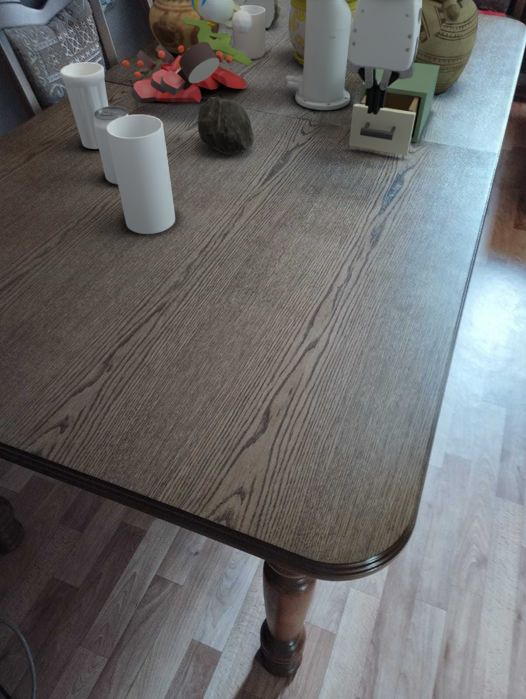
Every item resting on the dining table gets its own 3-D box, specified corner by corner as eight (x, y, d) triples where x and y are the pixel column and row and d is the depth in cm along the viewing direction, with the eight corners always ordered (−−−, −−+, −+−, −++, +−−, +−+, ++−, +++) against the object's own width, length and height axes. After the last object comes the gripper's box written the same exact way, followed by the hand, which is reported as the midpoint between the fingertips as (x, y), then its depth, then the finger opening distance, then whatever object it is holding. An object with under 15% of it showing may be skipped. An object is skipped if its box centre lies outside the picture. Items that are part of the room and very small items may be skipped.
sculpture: (254, 31, 180) (289, 17, 176) (246, 38, 165) (283, 23, 162) (243, -7, 174) (278, -22, 170) (232, -3, 159) (270, -20, 156)
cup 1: (70, 149, 110) (50, 74, 100) (92, 132, 116) (75, 59, 105) (105, 155, 108) (88, 79, 98) (126, 138, 114) (112, 64, 103)
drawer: (402, 165, 103) (410, 124, 98) (342, 155, 106) (347, 114, 101) (420, 125, 116) (428, 86, 110) (366, 117, 119) (371, 78, 113)
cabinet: (416, 142, 112) (427, 93, 105) (355, 132, 115) (361, 83, 108) (429, 112, 122) (439, 65, 115) (373, 104, 126) (379, 58, 119)
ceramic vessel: (376, 68, 142) (397, -78, 120) (460, 74, 139) (497, -75, 117) (371, 96, 129) (393, -61, 107) (464, 104, 126) (506, -57, 104)
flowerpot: (369, 63, 144) (378, -10, 132) (315, 78, 137) (320, 2, 125) (326, 45, 154) (331, -24, 143) (273, 57, 147) (274, -14, 136)
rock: (248, 159, 105) (241, 103, 99) (194, 160, 108) (184, 106, 102) (262, 141, 113) (256, 89, 107) (210, 143, 116) (202, 92, 110)
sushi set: (185, 138, 116) (89, 75, 116) (228, 139, 143) (150, 88, 143) (251, -1, 104) (145, -71, 104) (284, 29, 131) (200, -26, 131)
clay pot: (212, 53, 141) (177, -35, 129) (156, 74, 150) (118, -6, 138) (240, 31, 153) (210, -52, 141) (186, 51, 162) (154, -25, 151)
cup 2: (153, 239, 88) (137, 143, 77) (115, 224, 91) (94, 129, 80) (185, 216, 93) (174, 122, 82) (147, 202, 96) (132, 110, 85)
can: (133, 187, 100) (121, 121, 91) (100, 183, 101) (84, 118, 92) (146, 170, 104) (135, 106, 96) (113, 167, 105) (100, 103, 96)
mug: (267, 45, 154) (267, 1, 146) (264, 60, 146) (264, 14, 138) (236, 45, 155) (235, 1, 147) (232, 59, 146) (230, 14, 138)
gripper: (448, -20, 80) (422, 109, 93) (348, -28, 83) (336, 97, 96) (440, -8, 75) (414, 126, 88) (334, -17, 78) (324, 113, 91)
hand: (373, 111), depth 92 cm, fingers closed
